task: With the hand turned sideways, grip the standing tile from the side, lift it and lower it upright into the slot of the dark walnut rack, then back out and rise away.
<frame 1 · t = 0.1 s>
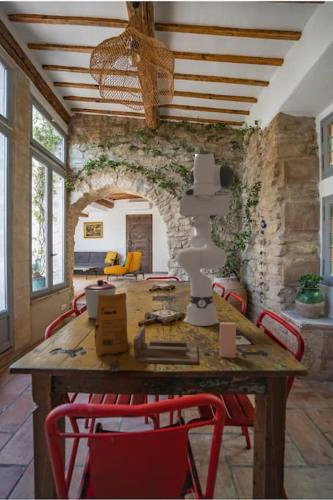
hand: (204, 226, 113), 48 cm above the table, tool pointing down, fingers open, 8 cm apart
rack: (167, 353, 104), on the table
coffee package: (111, 350, 108), on the table
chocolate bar: (235, 338, 122), on the table
canister: (100, 317, 156), on the table
tile: (227, 356, 102), on the table
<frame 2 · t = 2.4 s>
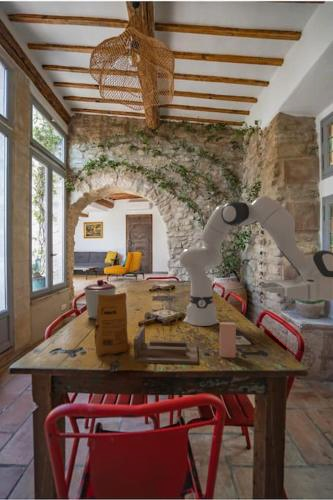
hand: (264, 287, 100), 25 cm above the table, tool horizontal, fingers open, 8 cm apart
nothing on the table moved.
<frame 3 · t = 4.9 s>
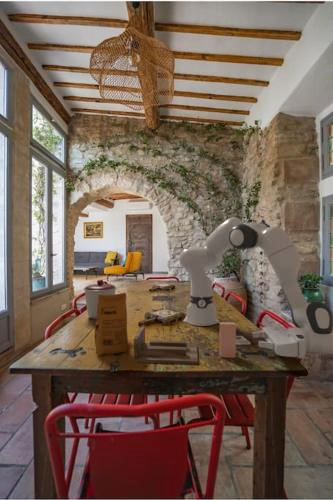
hand: (255, 339, 101), 6 cm above the table, tool horizontal, fingers open, 8 cm apart
nothing on the table moved.
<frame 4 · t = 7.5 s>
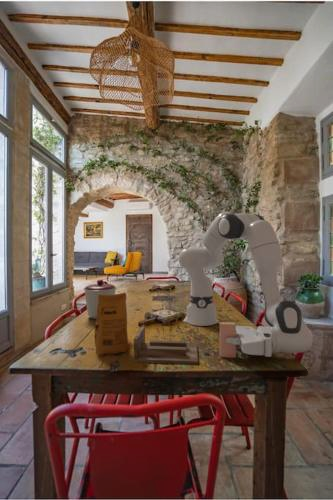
hand: (225, 337, 101), 7 cm above the table, tool horizontal, fingers closed on tile, 2 cm apart
tile: (227, 356, 101), on the table, touching gripper
everything else where it was.
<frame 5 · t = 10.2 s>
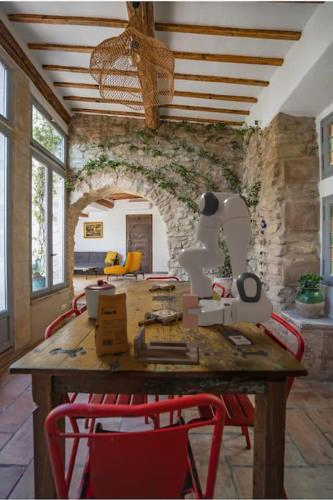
hand: (187, 309, 103), 17 cm above the table, tool horizontal, fingers closed on tile, 2 cm apart
tile: (190, 327, 103), point 10 cm above the table, touching gripper
everything else where it was.
when the fingers open (9 cm above the table, at t = 13.0 s): tile drops 2 cm, resting on rack.
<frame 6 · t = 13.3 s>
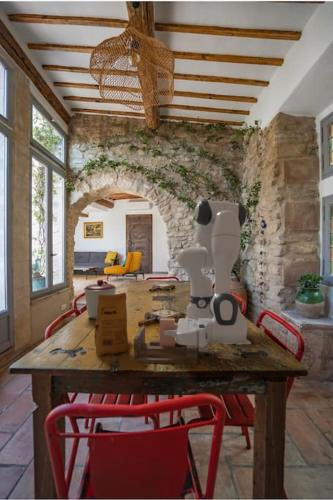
hand: (165, 329, 103), 9 cm above the table, tool horizontal, fingers open, 5 cm apart
tile: (167, 351, 103), point 1 cm above the table, touching rack
everything else where it was.
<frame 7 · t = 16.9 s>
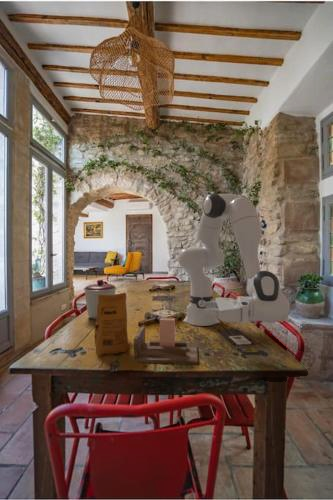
hand: (204, 307, 102), 18 cm above the table, tool horizontal, fingers open, 8 cm apart
nothing on the table moved.
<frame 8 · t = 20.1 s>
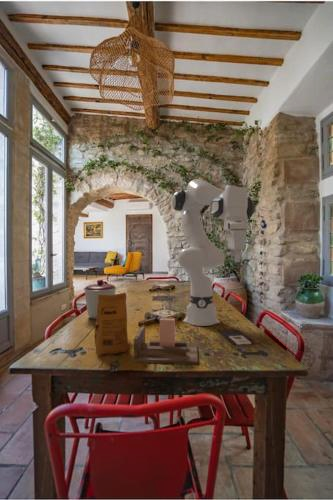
hand: (235, 261, 108), 34 cm above the table, tool pointing down, fingers open, 8 cm apart
nothing on the table moved.
at the end: tile inside the target area on the rack (0.0 cm from its centre), point 1.0 cm above the rack's base; tile tilted 0°; the gripper is holding nothing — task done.
